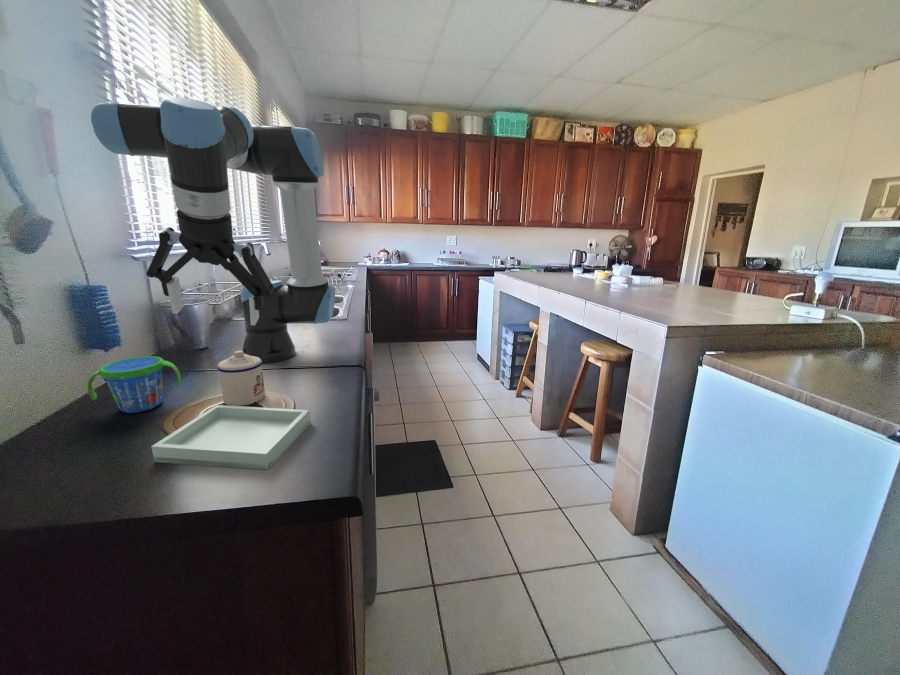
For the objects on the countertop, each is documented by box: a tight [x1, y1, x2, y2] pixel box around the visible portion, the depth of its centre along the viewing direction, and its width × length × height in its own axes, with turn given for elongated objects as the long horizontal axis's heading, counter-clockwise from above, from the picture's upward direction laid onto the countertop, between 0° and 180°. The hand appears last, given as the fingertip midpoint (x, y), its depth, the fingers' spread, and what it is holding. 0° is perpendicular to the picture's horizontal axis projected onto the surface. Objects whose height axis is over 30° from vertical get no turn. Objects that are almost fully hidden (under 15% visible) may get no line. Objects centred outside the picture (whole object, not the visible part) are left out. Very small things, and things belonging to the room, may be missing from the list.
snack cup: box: [87, 355, 182, 414], centre depth 82 cm, size 16×10×10 cm
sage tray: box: [150, 404, 311, 471], centre depth 70 cm, size 16×20×3 cm
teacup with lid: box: [216, 350, 266, 407], centre depth 88 cm, size 12×9×12 cm
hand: (217, 315), depth 74 cm, fingers open, 13 cm apart
